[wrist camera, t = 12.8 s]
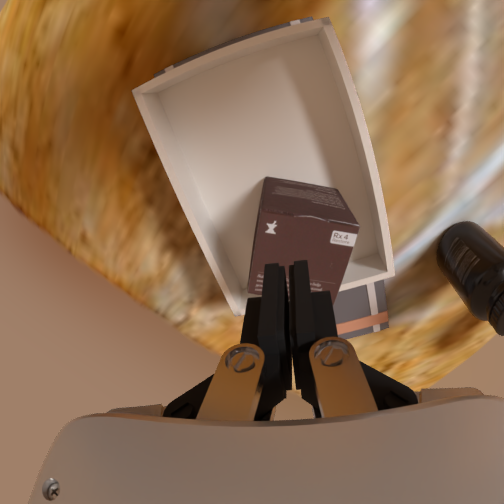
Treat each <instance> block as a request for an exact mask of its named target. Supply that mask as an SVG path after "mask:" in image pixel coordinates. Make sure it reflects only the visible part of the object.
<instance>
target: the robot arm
mask: <svg viewBox="0 0 504 504" xmlns="http://www.w3.org/2000/svg"><path fill="white" fill-rule="evenodd" d="M292 358H293V367H294V375H295V383H296V390H299V389H301V395H302V399H304V400H305V401H307V402H308V403H309V404H311V405H312V411H313V416H314V419H303V420H302V419H301V420H282V421H274V417H275V412H276V405H277V404H278V403H280V402H281V401H282V400H283V399H284V398H286V390H292ZM28 504H504V398H502V397H497V396H491V395H484V394H483V393H482V392H481V391H480V390H478V389H476V388H471V387H465V388H440V389H421V391H420V392H414V391H413V390H411V389H410V388H409V387H407V386H405V385H403V384H401V383H400V382H398V381H396V380H394V379H392V378H390V377H388V376H386V375H385V374H383V373H381V372H379V371H377V370H375V369H374V368H372V367H370V366H368V365H366V364H364V363H363V362H361V361H359V360H358V357H357V355H356V352H355V350H354V348H353V346H352V344H351V343H350V342H348V341H347V340H345V339H343V338H340V337H338V333H337V327H336V321H335V315H334V310H333V304H332V299H331V293H330V290H328V291H319V292H311V287H310V278H309V270H308V261H307V260H300V261H294V265H289V296H288V288H287V280H286V273H285V266H279V263H270V264H265V267H264V277H263V287H262V296H261V297H252V298H248V299H247V304H246V310H245V316H244V322H243V328H242V334H241V341H240V344H238V345H234V346H232V347H231V348H229V349H228V350H226V351H225V352H224V354H223V355H222V357H221V359H220V362H219V364H218V366H217V369H216V371H215V374H213V375H212V376H210V377H209V378H207V379H206V380H204V381H203V382H201V383H199V384H198V385H196V386H195V387H193V388H192V389H190V390H189V391H187V392H186V393H184V394H183V395H181V396H180V397H178V398H176V399H175V400H173V401H172V402H171V403H169V404H168V406H164V407H163V406H162V405H161V404H157V405H148V406H138V407H126V408H116V409H112V410H110V411H108V412H107V413H96V414H91V415H85V416H81V417H78V418H76V419H73V420H71V421H70V422H68V423H67V424H66V425H65V426H64V427H63V428H62V429H61V430H60V432H59V433H58V435H57V436H56V438H55V440H54V442H53V443H52V445H51V447H50V449H49V451H48V453H47V455H46V458H45V460H44V462H43V465H42V467H41V469H40V471H39V474H38V477H37V479H36V482H35V485H34V488H33V490H32V493H31V496H30V499H29V502H28Z"/></svg>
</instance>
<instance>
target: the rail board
mask: <svg viewBox="0 0 504 504" xmlns="http://www.w3.org/2000/svg"><path fill="white" fill-rule="evenodd" d="M312 20H313V18H312V17H308V18H304V19H300V20H295V21H291V22H288V23H285V24H281V25H277V26H274V27H270V28H267V29H264V30H261V31H258V32H254V33H251V34H248V35H245V36H242V37H240V38H237V39H234V40H231V41H229V42H226V43H223V44H221V45H218V46H215V47H213V48H210V49H208V50H206V51H203V52H201V53H198V54H196V55H194V56H191V57H189V58H187V59H185V60H183V61H180V62H178V63H176V64H174V65H171V66H169V67H167V68H165V69H164V70H162V71H160V72H158V73H156V74H154V77H155V78H156V77H158V76H160V75H162V74H164V73H166V72H168V71H170V70H172V69H174V68H176V67H178V66H181V65H183V64H185V63H187V62H189V61H192V60H194V59H196V58H199V57H201V56H203V55H206V54H208V53H211V52H213V51H216V50H218V49H221V48H223V47H226V46H229V45H231V44H234V43H237V42H240V41H243V40H246V39H249V38H252V37H255V36H258V35H261V34H264V33H267V32H271V31H274V30H277V29H281V28H285V27H288V26H292V25H296V24H300V23H304V22H308V21H312ZM333 310H334V315H335V321H336V327H337V333H338V337H340V338H343V339H349V338H353V337H357V336H361V335H365V334H368V333H372V332H378V331H380V330H383V329H386V328H389V324H388V312H387V304H386V295H385V287H384V280H379V281H376V282H372V283H369V284H365V285H362V286H358V287H354V288H351V289H347V290H343V291H340V292H338V295H337V298H336V301H335V303H334V305H333Z"/></svg>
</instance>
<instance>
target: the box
mask: <svg viewBox="0 0 504 504" xmlns="http://www.w3.org/2000/svg"><path fill="white" fill-rule="evenodd" d="M359 229H360V225H359V223H358V222H357V221H356V218H355V217H354V215H353V214H352V212H351V210H350V209H349V207H348V205H347V203H346V202H345V200H344V199H343V197H342V195H341V194H340V192H339V191H338V189H335V188H330V187H325V186H320V185H315V184H309V183H304V182H298V181H292V180H287V179H281V178H274V177H268V176H266V177H265V178H264V182H263V187H262V192H261V198H260V203H259V209H258V214H257V221H256V227H255V233H254V240H253V247H252V255H251V262H250V270H249V278H248V288H247V292H248V293H250V294H256V295H262V287H263V277H264V267H265V264H270V263H279V266H285V273H286V280H287V288H288V296H289V265H294V261H300V260H307V261H308V270H309V278H310V287H311V292H319V291H328V290H330V293H331V299H332V304H333V305H334V303H335V301H336V298H337V295H338V292H339V289H340V286H341V283H342V280H343V278H344V274H345V271H346V269H347V266H348V263H349V260H350V257H351V253H352V250H353V247H354V245H355V241H356V238H357V235H358V232H359Z"/></svg>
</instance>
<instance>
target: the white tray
mask: <svg viewBox="0 0 504 504" xmlns="http://www.w3.org/2000/svg"><path fill="white" fill-rule="evenodd" d="M131 91H132V93H133V96H134V98H135V100H136V103H137V105H138V108H139V110H140V113H141V115H142V117H143V120H144V122H145V125H146V127H147V129H148V132H149V134H150V136H151V139H152V141H153V143H154V146H155V148H156V150H157V153H158V155H159V157H160V160H161V162H162V164H163V166H164V169H165V171H166V173H167V175H168V178H169V180H170V182H171V184H172V187H173V189H174V191H175V193H176V195H177V198H178V200H179V202H180V204H181V206H182V208H183V211H184V213H185V215H186V217H187V219H188V221H189V224H190V226H191V228H192V230H193V232H194V234H195V236H196V238H197V240H198V243H199V245H200V247H201V249H202V251H203V253H204V255H205V257H206V259H207V261H208V263H209V265H210V267H211V269H212V272H213V274H214V276H215V278H216V280H217V282H218V284H219V286H220V288H221V290H222V292H223V294H224V296H225V298H226V300H227V302H228V304H229V306H230V308H231V310H232V312H233V313H234V315H235V316H240V315H245V310H246V304H247V299H248V298H252V297H261V296H262V295H256V294H250V293H248V292H247V288H248V278H249V270H250V262H251V255H252V247H253V240H254V233H255V227H256V221H257V214H258V209H259V203H260V198H261V192H262V187H263V182H264V178H265V177H266V176H268V177H274V178H281V179H287V180H292V181H298V182H304V183H309V184H315V185H320V186H325V187H330V188H335V189H338V191H339V192H340V194H341V195H342V197H343V199H344V200H345V202H346V203H347V205H348V207H349V209H350V210H351V212H352V214H353V215H354V217H355V218H356V221H357V222H358V223H359V225H360V229H359V232H358V235H357V238H356V241H355V245H354V247H353V250H352V253H351V257H350V260H349V263H348V266H347V269H346V271H345V274H344V278H343V280H342V283H341V286H340V289H339V292H340V291H343V290H347V289H351V288H354V287H358V286H362V285H365V284H369V283H372V282H376V281H379V280H383V279H386V278H390V277H393V276H395V270H394V262H393V254H392V247H391V240H390V233H389V227H388V221H387V215H386V209H385V204H384V198H383V193H382V188H381V183H380V179H379V174H378V170H377V165H376V161H375V157H374V152H373V148H372V144H371V140H370V137H369V133H368V129H367V125H366V122H365V118H364V115H363V111H362V108H361V105H360V101H359V98H358V95H357V92H356V89H355V86H354V82H353V79H352V77H351V74H350V71H349V68H348V65H347V62H346V59H345V57H344V54H343V51H342V49H341V46H340V43H339V41H338V38H337V36H336V33H335V31H334V28H333V26H332V24H331V21H330V19H329V17H326V18H321V19H317V20H312V21H308V22H304V23H300V24H296V25H292V26H288V27H285V28H281V29H277V30H274V31H271V32H267V33H264V34H261V35H258V36H255V37H252V38H249V39H246V40H243V41H240V42H237V43H234V44H231V45H229V46H226V47H223V48H221V49H218V50H216V51H213V52H211V53H208V54H206V55H203V56H201V57H199V58H196V59H194V60H192V61H189V62H187V63H185V64H183V65H181V66H178V67H176V68H174V69H172V70H170V71H168V72H166V73H164V74H162V75H160V76H158V77H156V78H154V79H152V80H150V81H148V82H146V83H144V84H142V85H140V86H139V87H137V88H135V89H133V90H131Z"/></svg>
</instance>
